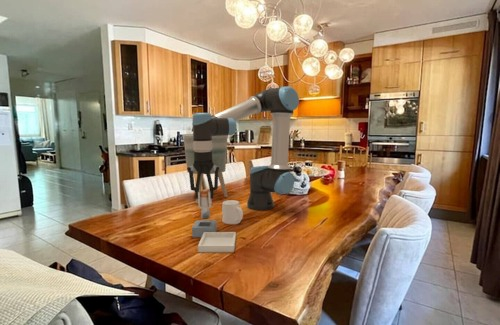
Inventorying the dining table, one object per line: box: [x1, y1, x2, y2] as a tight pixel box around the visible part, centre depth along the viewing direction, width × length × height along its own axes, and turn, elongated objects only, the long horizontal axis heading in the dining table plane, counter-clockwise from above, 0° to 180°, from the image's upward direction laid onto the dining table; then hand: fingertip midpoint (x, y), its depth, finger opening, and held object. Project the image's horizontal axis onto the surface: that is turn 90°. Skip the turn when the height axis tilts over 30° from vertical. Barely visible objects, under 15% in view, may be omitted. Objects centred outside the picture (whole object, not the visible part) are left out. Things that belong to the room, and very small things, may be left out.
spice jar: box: [200, 191, 211, 220], centre depth 116 cm, size 4×4×11 cm
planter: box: [183, 133, 229, 204], centre depth 170 cm, size 26×26×40 cm
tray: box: [197, 231, 237, 253], centre depth 106 cm, size 13×13×2 cm
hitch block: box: [191, 219, 218, 238], centre depth 117 cm, size 9×9×4 cm
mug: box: [221, 199, 244, 225], centre depth 131 cm, size 12×9×8 cm
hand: (205, 206), depth 116 cm, fingers closed on spice jar, 4 cm apart
